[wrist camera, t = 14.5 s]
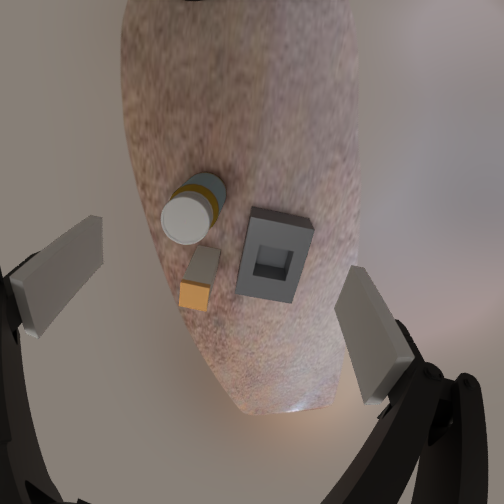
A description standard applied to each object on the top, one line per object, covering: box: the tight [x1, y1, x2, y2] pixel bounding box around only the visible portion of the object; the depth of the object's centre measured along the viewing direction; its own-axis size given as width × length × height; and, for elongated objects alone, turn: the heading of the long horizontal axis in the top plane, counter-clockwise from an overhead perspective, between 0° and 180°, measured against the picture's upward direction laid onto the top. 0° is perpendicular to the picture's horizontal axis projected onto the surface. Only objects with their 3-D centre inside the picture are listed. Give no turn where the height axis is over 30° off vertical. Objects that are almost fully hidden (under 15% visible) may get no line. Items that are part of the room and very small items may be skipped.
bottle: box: [161, 172, 226, 245], centre depth 41 cm, size 7×7×15 cm
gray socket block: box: [235, 207, 314, 304], centre depth 50 cm, size 14×10×6 cm
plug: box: [179, 245, 221, 311], centre depth 47 cm, size 4×4×13 cm
